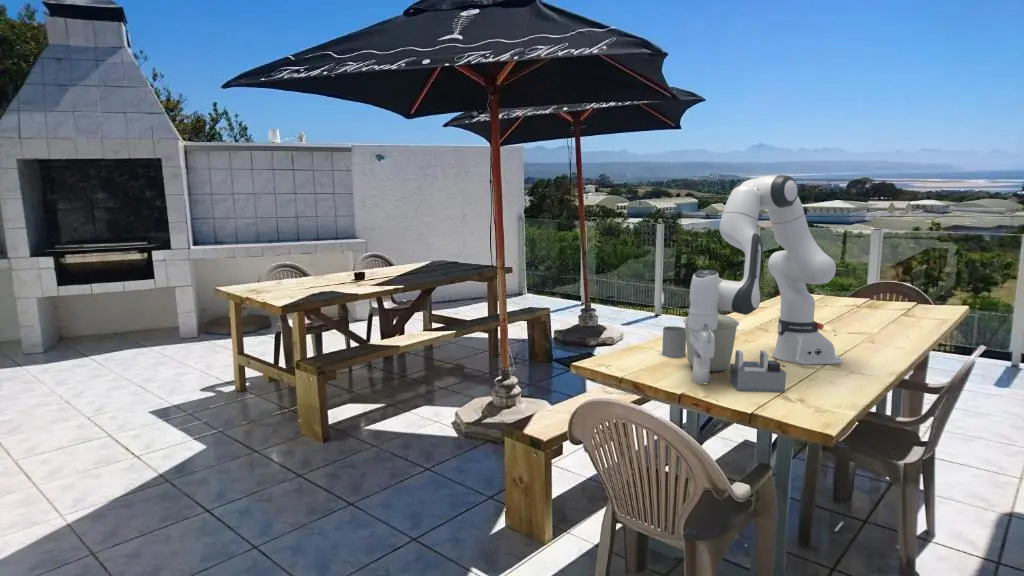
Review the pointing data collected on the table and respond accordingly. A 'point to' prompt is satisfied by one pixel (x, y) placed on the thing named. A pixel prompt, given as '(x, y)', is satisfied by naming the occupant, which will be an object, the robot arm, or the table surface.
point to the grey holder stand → (757, 374)
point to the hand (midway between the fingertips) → (700, 364)
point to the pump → (700, 370)
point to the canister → (717, 343)
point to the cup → (674, 342)
